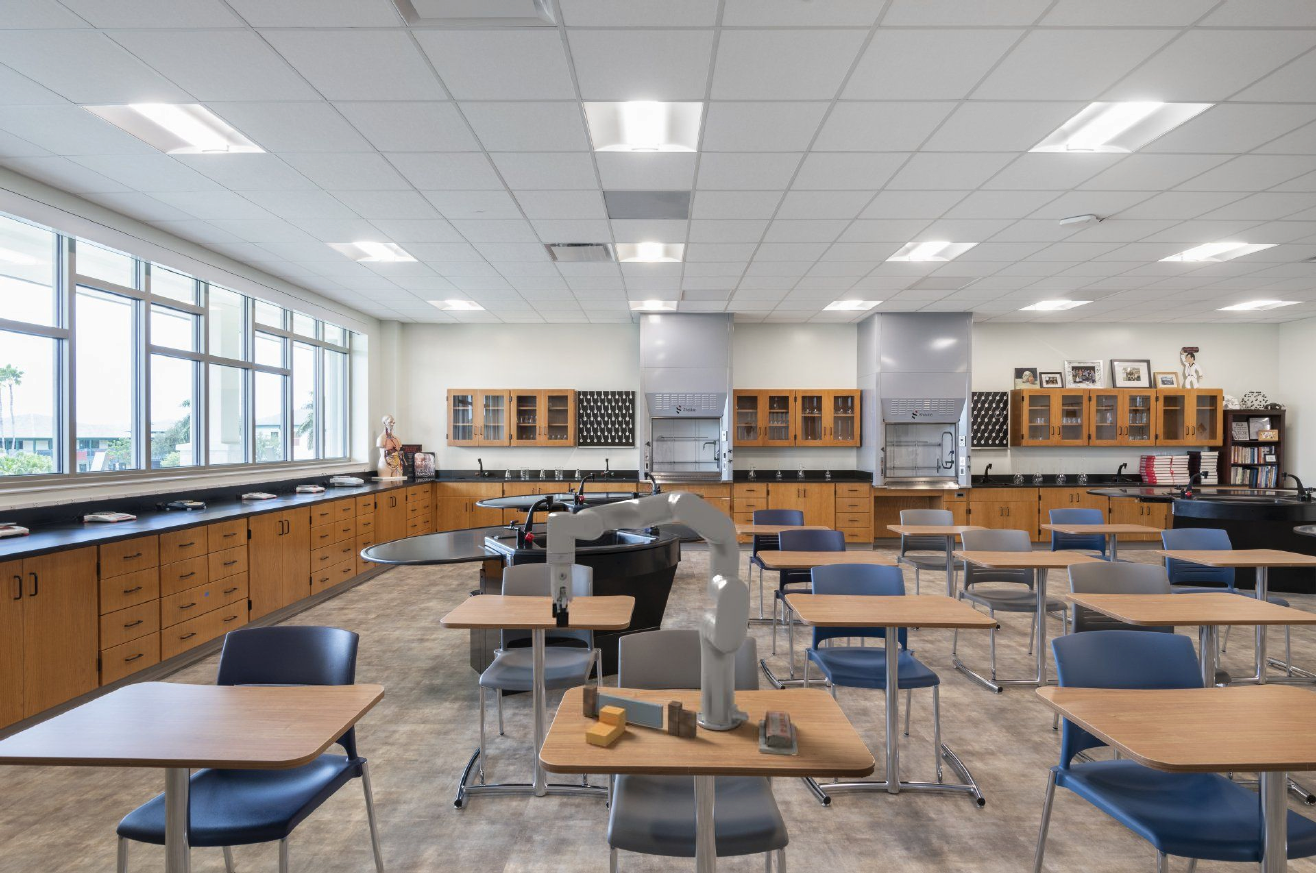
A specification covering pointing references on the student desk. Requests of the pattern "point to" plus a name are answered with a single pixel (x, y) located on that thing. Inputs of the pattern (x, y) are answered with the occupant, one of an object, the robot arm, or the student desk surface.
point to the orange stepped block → (607, 726)
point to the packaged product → (777, 734)
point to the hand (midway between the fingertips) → (560, 622)
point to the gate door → (633, 709)
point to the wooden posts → (678, 718)
